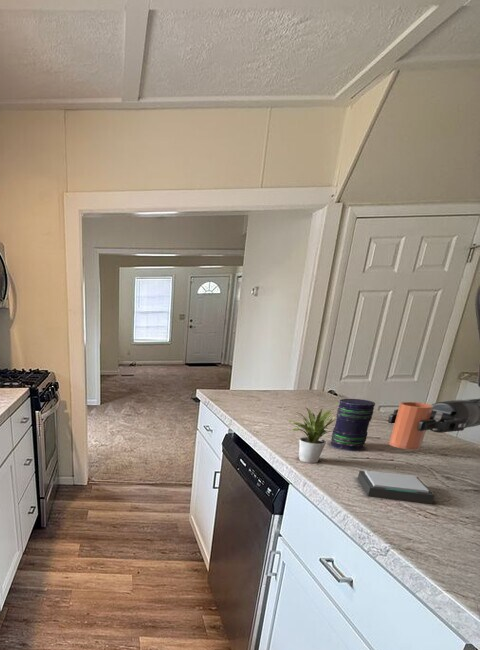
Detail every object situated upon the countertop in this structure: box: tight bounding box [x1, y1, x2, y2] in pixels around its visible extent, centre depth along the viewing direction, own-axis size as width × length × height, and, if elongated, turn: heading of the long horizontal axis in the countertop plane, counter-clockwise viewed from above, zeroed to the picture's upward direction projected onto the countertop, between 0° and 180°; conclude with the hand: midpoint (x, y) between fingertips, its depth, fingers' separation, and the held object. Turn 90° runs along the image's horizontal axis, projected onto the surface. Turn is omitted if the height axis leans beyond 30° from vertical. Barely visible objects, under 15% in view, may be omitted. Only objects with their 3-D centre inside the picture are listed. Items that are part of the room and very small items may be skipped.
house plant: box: [288, 406, 338, 464], centre depth 120 cm, size 14×14×16 cm
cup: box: [388, 401, 434, 451], centre depth 95 cm, size 6×6×10 cm
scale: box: [357, 470, 436, 505], centre depth 100 cm, size 13×12×3 cm
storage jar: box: [329, 398, 376, 452], centre depth 131 cm, size 10×10×15 cm
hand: (404, 422), depth 94 cm, fingers closed on cup, 6 cm apart
